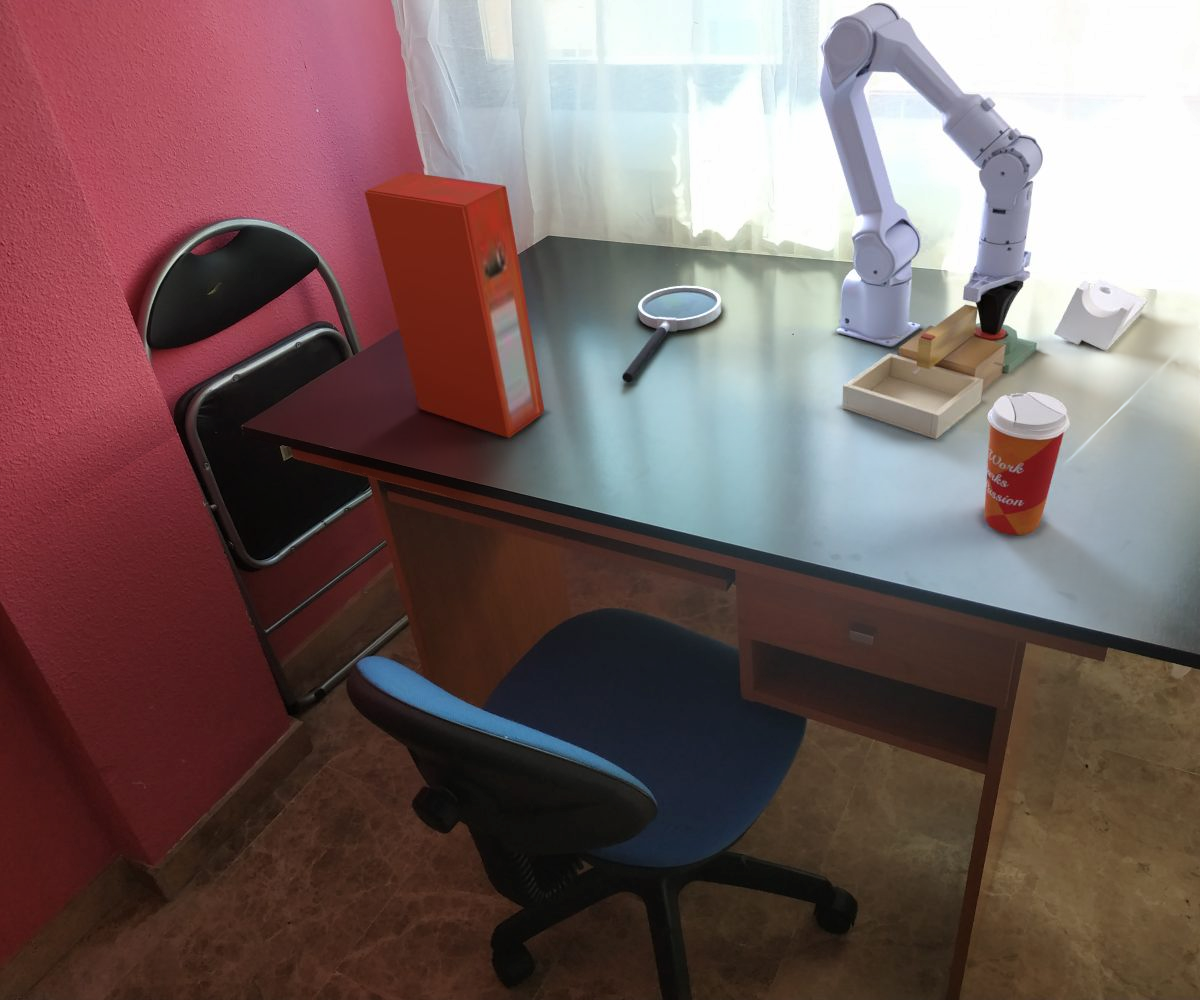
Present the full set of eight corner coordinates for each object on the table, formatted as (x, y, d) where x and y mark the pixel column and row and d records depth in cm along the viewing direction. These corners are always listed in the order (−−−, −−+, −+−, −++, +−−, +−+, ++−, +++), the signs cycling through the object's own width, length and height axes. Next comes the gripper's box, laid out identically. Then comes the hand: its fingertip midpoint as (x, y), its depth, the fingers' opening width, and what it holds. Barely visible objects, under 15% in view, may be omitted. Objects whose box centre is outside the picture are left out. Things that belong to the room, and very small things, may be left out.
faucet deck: (857, 388, 134) (858, 357, 131) (920, 343, 142) (923, 313, 140) (968, 423, 124) (972, 390, 121) (1029, 372, 132) (1034, 340, 130)
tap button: (968, 346, 137) (969, 333, 136) (982, 335, 139) (983, 322, 138) (995, 353, 135) (997, 340, 134) (1009, 342, 137) (1011, 329, 136)
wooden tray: (842, 408, 130) (842, 385, 128) (887, 375, 136) (889, 352, 134) (936, 439, 121) (938, 415, 119) (980, 402, 127) (983, 379, 125)
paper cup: (963, 504, 110) (976, 394, 102) (1030, 495, 110) (1049, 384, 102) (992, 546, 104) (1009, 433, 96) (1064, 536, 104) (1087, 422, 96)
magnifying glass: (585, 380, 144) (584, 367, 143) (654, 294, 167) (653, 283, 166) (672, 388, 139) (671, 375, 138) (730, 298, 162) (730, 287, 161)
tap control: (940, 354, 139) (942, 335, 137) (968, 333, 143) (970, 314, 141) (1008, 373, 133) (1011, 353, 131) (1035, 350, 137) (1039, 330, 135)
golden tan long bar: (962, 331, 134) (965, 302, 132) (974, 334, 133) (978, 305, 131) (916, 366, 128) (918, 336, 125) (928, 369, 127) (931, 339, 124)
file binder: (506, 439, 133) (461, 206, 114) (418, 410, 142) (364, 190, 124) (544, 412, 138) (507, 184, 119) (457, 386, 147) (410, 171, 129)
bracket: (1102, 356, 135) (1128, 310, 130) (1054, 333, 138) (1077, 287, 133) (1136, 320, 143) (1161, 275, 137) (1089, 299, 146) (1112, 254, 140)
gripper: (1005, 260, 122) (992, 359, 130) (1058, 224, 130) (1043, 318, 137) (952, 250, 126) (943, 346, 134) (1007, 215, 134) (995, 307, 142)
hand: (990, 331), depth 136 cm, fingers closed, pressing on tap button
